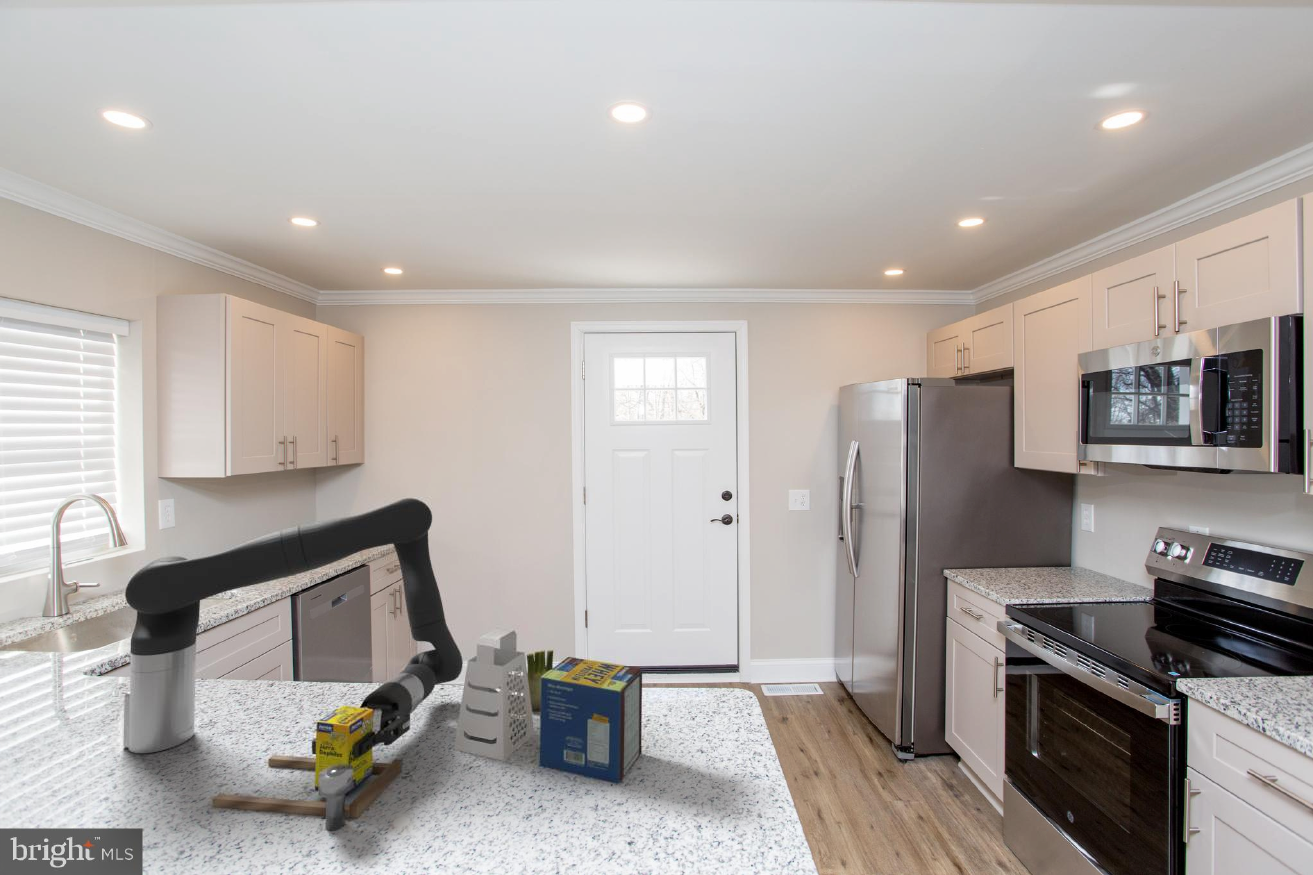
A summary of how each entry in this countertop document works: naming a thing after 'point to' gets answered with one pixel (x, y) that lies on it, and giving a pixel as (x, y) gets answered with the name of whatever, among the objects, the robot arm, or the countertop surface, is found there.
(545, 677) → the protein box
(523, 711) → the grater
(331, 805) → the grey bolt
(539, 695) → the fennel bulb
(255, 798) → the bay
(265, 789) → the countertop surface
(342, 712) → the supplement box
